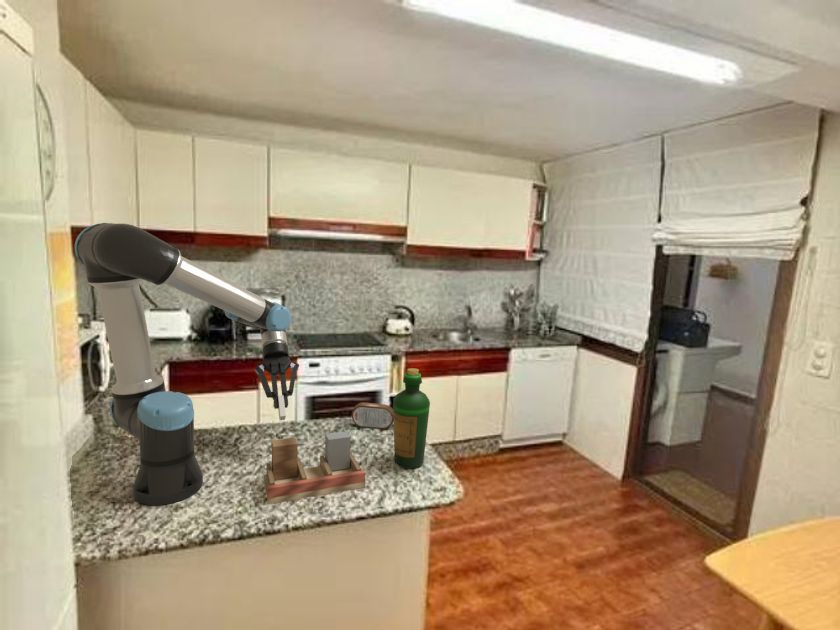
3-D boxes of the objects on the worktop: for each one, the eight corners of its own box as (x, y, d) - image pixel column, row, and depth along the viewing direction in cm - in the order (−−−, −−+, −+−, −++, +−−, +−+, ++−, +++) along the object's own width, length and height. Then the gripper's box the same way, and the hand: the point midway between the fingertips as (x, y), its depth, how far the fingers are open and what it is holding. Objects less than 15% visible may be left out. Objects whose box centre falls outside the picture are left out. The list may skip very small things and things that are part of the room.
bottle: (386, 456, 135) (389, 365, 131) (419, 452, 139) (423, 364, 135) (396, 473, 125) (401, 376, 121) (432, 468, 129) (437, 373, 125)
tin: (394, 427, 157) (395, 404, 156) (393, 431, 154) (394, 407, 153) (352, 423, 159) (353, 400, 157) (350, 427, 156) (350, 403, 154)
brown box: (273, 480, 115) (273, 446, 114) (271, 471, 119) (271, 439, 118) (297, 476, 118) (297, 443, 116) (294, 468, 122) (294, 436, 120)
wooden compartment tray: (268, 504, 108) (268, 486, 107) (263, 480, 118) (263, 463, 118) (364, 487, 117) (365, 471, 117) (352, 466, 128) (353, 451, 127)
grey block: (327, 471, 121) (328, 439, 119) (324, 463, 125) (324, 432, 124) (349, 468, 123) (350, 436, 122) (345, 460, 127) (346, 430, 126)
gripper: (295, 352, 145) (304, 420, 133) (252, 354, 140) (257, 426, 128) (298, 339, 140) (307, 409, 128) (253, 341, 134) (259, 415, 122)
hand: (282, 418), depth 128 cm, fingers closed
